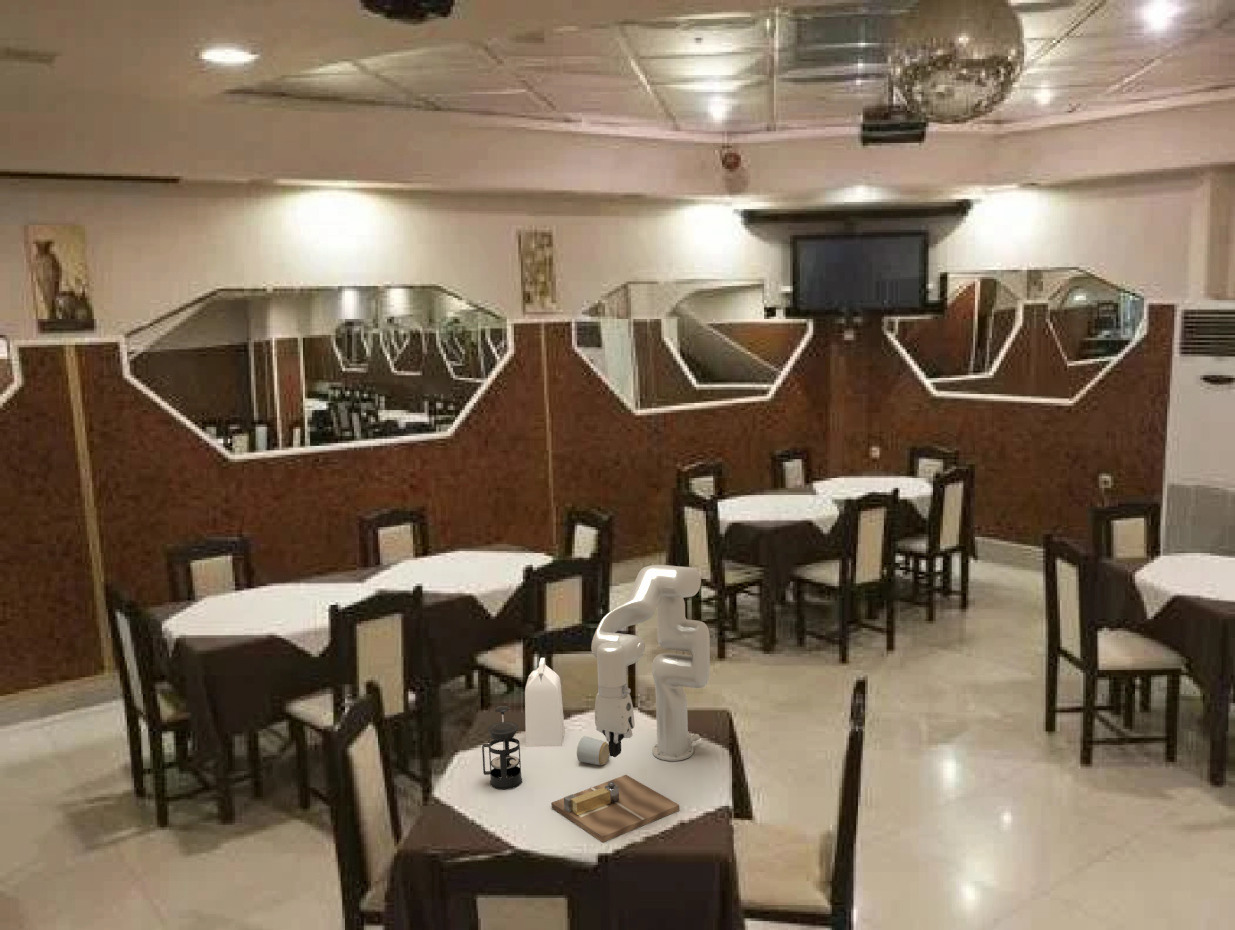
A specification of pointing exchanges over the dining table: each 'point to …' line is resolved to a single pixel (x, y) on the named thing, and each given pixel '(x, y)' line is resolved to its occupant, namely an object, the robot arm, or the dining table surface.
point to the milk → (543, 708)
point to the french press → (503, 754)
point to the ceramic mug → (592, 751)
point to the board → (619, 809)
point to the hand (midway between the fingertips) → (615, 754)
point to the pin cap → (611, 784)
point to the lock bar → (594, 799)
